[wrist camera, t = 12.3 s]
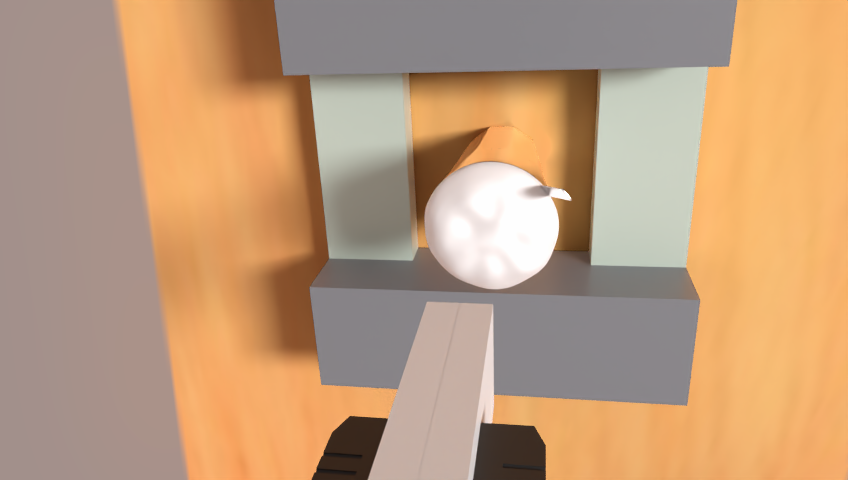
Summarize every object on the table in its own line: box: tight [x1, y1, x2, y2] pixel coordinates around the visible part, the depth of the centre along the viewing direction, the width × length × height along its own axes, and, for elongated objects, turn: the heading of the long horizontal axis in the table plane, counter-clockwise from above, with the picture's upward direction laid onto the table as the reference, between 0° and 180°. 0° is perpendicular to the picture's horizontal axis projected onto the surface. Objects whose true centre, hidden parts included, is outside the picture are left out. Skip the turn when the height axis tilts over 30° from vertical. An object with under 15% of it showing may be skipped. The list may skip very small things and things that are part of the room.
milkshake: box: [425, 127, 572, 289], centre depth 26 cm, size 4×5×10 cm
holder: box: [274, 0, 737, 406], centre depth 29 cm, size 19×16×4 cm
